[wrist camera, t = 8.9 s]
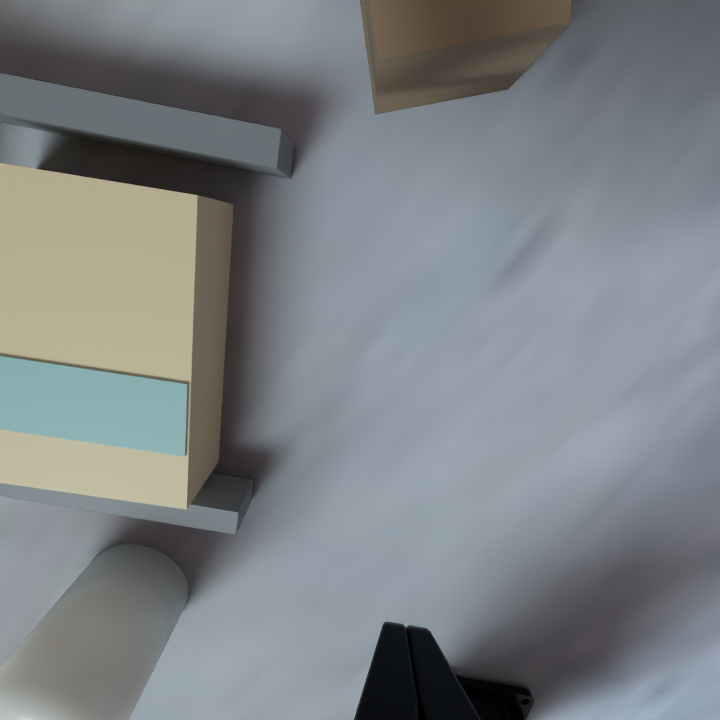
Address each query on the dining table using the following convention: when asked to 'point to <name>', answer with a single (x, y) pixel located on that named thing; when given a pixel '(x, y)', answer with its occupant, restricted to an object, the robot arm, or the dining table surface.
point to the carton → (111, 336)
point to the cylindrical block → (97, 640)
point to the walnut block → (454, 46)
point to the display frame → (172, 137)
